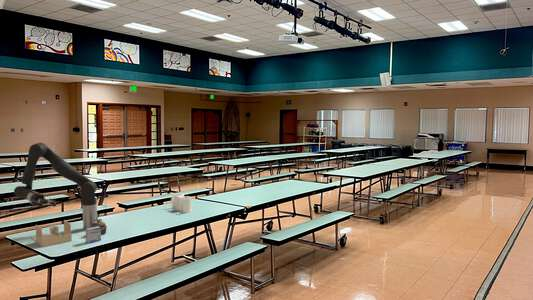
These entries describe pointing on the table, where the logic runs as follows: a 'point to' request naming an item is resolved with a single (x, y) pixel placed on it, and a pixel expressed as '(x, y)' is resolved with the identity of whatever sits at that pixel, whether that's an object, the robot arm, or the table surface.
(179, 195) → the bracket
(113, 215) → the table surface
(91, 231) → the medicine box
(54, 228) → the box
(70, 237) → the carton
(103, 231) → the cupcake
